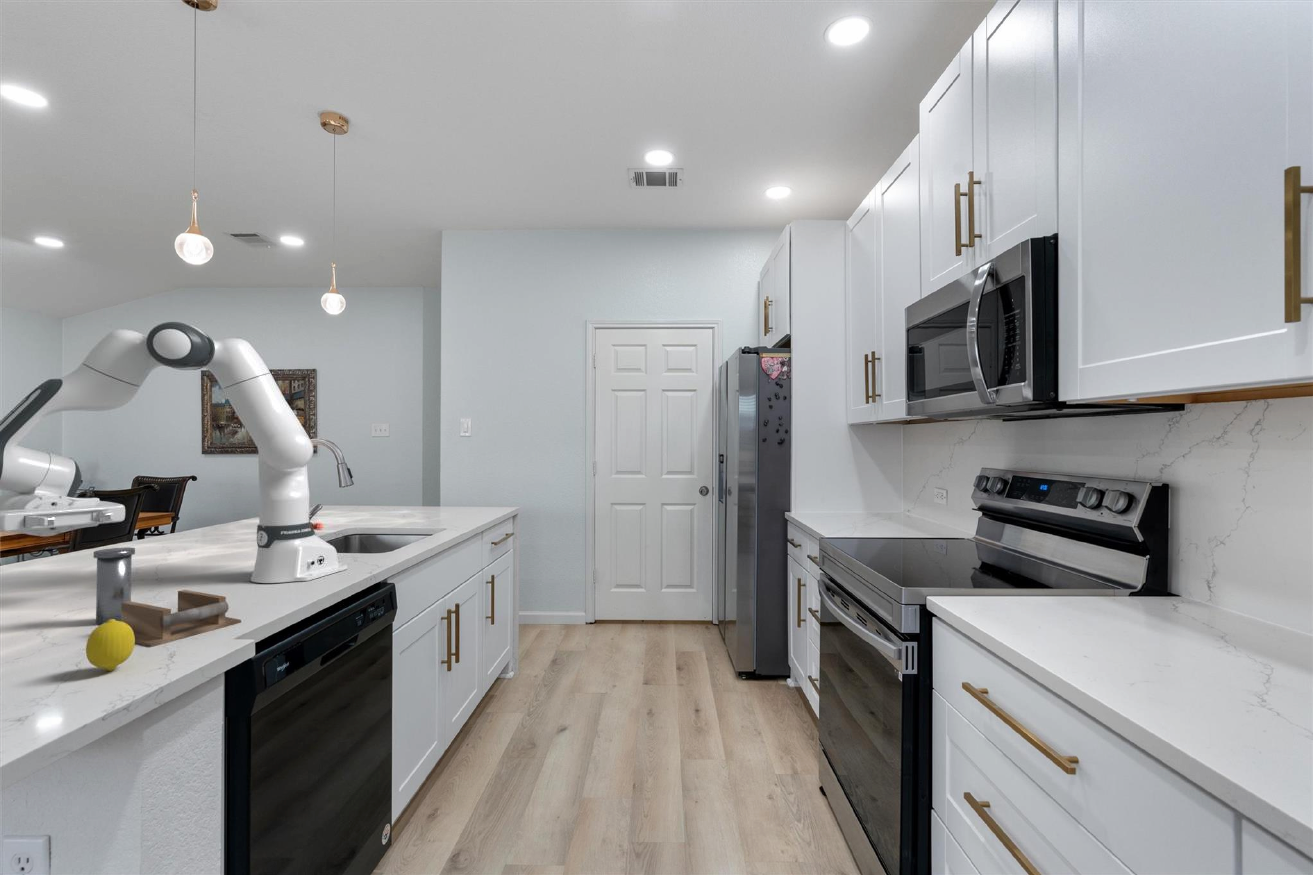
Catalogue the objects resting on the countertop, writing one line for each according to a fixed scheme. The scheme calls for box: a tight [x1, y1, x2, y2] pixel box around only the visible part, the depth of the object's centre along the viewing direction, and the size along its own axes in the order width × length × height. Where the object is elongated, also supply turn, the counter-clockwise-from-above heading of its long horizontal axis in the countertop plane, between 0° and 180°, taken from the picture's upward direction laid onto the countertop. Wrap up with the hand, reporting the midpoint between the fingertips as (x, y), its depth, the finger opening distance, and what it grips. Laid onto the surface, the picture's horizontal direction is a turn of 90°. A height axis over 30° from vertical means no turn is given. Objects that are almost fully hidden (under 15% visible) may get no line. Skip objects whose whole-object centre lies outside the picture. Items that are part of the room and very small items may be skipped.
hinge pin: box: [93, 546, 136, 626], centre depth 114 cm, size 6×6×14 cm
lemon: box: [85, 619, 136, 672], centre depth 90 cm, size 6×6×8 cm
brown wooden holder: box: [121, 589, 242, 648], centre depth 110 cm, size 15×15×6 cm
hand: (80, 519), depth 119 cm, fingers open, 8 cm apart
